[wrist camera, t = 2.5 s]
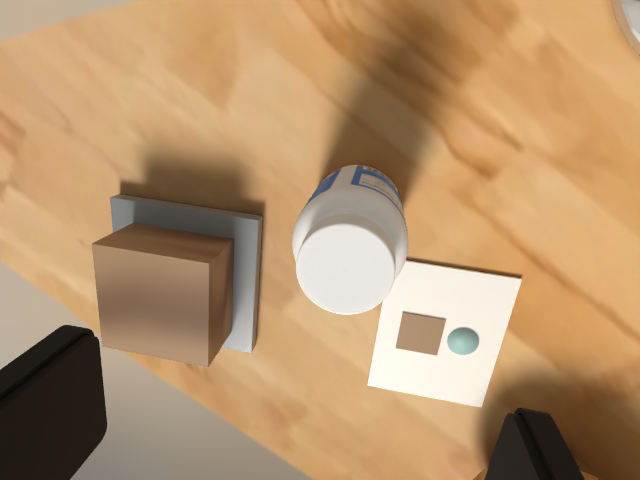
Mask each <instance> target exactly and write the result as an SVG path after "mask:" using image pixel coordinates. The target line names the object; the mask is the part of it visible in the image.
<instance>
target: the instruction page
mask: <svg viewBox="0 0 640 480" xmlns="http://www.w3.org/2000/svg"><path fill="white" fill-rule="evenodd" d="M521 281H522V279H521V278H516V277H510V276H503V275H497V274H491V273H484V272H478V271H472V270H465V269H459V268H453V267H446V266H440V265H434V264H427V263H421V262H415V261H408V260H406V261H405V264H404V266H403V268H402V270H401V272H400V274H399V275H398V276H397V278H396V279H395V280H394V283H393V286H392V288H391V290H390V292H389V293H388V295H387V296H386V298H385V299H384V300H383V302H382V308H381V313H380V319H379V324H378V329H377V335H376V340H375V346H374V351H373V357H372V362H371V368H370V373H369V379H368V386H373V387H378V388H383V389H389V390H394V391H399V392H404V393H409V394H414V395H419V396H425V397H430V398H435V399H440V400H445V401H450V402H456V403H461V404H466V405H471V406H476V407H482V404H483V401H484V398H485V394H486V391H487V388H488V385H489V382H490V379H491V375H492V372H493V369H494V366H495V363H496V360H497V356H498V353H499V350H500V347H501V344H502V341H503V338H504V334H505V331H506V328H507V325H508V322H509V319H510V315H511V312H512V309H513V306H514V303H515V300H516V296H517V293H518V290H519V287H520V284H521Z"/></svg>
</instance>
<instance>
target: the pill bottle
mask: <svg viewBox="0 0 640 480" xmlns="http://www.w3.org/2000/svg"><path fill="white" fill-rule="evenodd" d="M292 247H293V253H294V257H295V260H296V274H297V278H298V281H299V284H300V286H301V288H302V290H303V291H304V293H305V294H306V295H307V297H308V298H309V299H310V300H311V301H312V302H314V303H315V304H316V305H318V306H319V307H321V308H323V309H325V310H327V311H330V312H333V313H337V314H357V313H362V312H365V311H368V310H370V309H372V308H374V307H375V306H377V305H378V304H379V303H381V302H382V301H383V300H384V299H385V298H386V296H387V295H388V293H389V292H390V290H391V288H392V286H393V283H394V280H395V279H396V278H397V276H398V275H399V274H400V272H401V270H402V268H403V266H404V264H405V261H406V258H407V253H408V233H407V227H406V222H405V217H404V212H403V207H402V202H401V198H400V194H399V192H398V189H397V187H396V186H395V184H394V183H393V181H392V180H391V179H390V178H389V177H388V176H387V175H385V174H384V173H383V172H381V171H379V170H377V169H375V168H373V167H370V166H366V165H348V166H344V167H341V168H339V169H337V170H335V171H333V172H332V173H330V174H329V175H328V176H327V177H326V178H325V179H324V180H323V181H322V182H321V183H320V185H319V186H318V188H317V189H316V191H315V192H314V193H313V195H312V197H311V198H310V199H309V201H308V202H307V204H306V206H305V207H304V208H303V210H302V212H301V213H300V215H299V217H298V219H297V222H296V224H295V227H294V231H293V237H292Z"/></svg>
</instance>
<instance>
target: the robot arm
mask: <svg viewBox="0 0 640 480" xmlns="http://www.w3.org/2000/svg"><path fill="white" fill-rule="evenodd" d="M611 2H612V6H613V9H614V13H615V17H616V20H617V23H618V25H619V26H620V28H621V30H622V32H623V34H624V36H625V38H626V40H627V41H628V43H629V44H630V45H631V46H632V48H633V49H634V50H635V51H636V52H637V53H638V54H639V55H640V0H611ZM105 409H106V408H105V398H104V387H103V377H102V367H101V357H100V346H99V340H98V338H97V337H95V336H94V333H93V332H92V330H90V329H87V328H82V327H76V326H71V325H63V326H61V327H59V328H58V329H57V330H55V331H54V332H52V333H51V334H50V335H48V336H47V337H46V338H44V339H43V340H41V341H40V342H38V343H37V344H36V345H34V346H33V347H31V348H30V349H29V350H27V351H26V352H25V353H23V354H22V355H20V356H19V357H17V358H16V359H15V360H13V361H12V362H10V363H9V364H8V365H6V366H5V367H3V368H2V369H1V370H0V480H70V479H71V477H72V476H73V475H74V474H75V473H76V471H77V470H78V469H79V468H80V466H81V465H82V464H83V463H84V461H85V460H86V459H87V458H88V457H89V455H90V454H91V453H92V452H93V451H94V449H95V448H96V447H97V446H98V444H99V443H100V442H101V440H102V439H103V437H104V435H105V432H106V429H107V418H106V410H105ZM484 480H585V479H584V477H583V475H582V473H581V471H580V469H579V467H578V465H577V464H576V462H575V460H574V458H573V456H572V454H571V452H570V450H569V449H568V447H567V445H566V443H565V441H564V439H563V437H562V435H561V433H560V432H559V430H558V428H557V426H556V424H555V422H554V420H553V418H552V417H551V416H550V414H548V413H545V412H540V411H534V410H529V409H523V408H518V409H517V410H516V411H515V413H514V414H511V413H509V414H507V415H506V418H505V420H504V423H503V426H502V429H501V432H500V435H499V438H498V441H497V444H496V447H495V450H494V453H493V456H492V459H491V462H490V465H489V468H488V471H487V473H486V476H485V479H484Z"/></svg>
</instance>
